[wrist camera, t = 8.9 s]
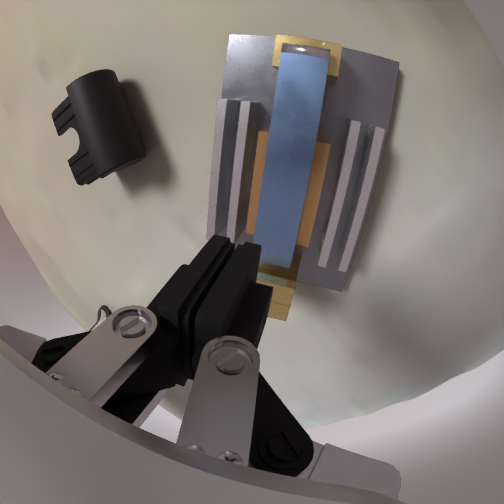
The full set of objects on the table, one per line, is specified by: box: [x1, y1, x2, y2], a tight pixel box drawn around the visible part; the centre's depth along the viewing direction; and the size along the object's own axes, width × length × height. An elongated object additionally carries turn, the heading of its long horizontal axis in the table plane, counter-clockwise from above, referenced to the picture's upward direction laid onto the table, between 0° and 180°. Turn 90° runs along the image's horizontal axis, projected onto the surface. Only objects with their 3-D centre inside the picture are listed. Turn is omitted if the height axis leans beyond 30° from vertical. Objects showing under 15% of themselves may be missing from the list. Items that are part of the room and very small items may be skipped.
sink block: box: [206, 35, 399, 321], centre depth 21 cm, size 22×14×9 cm, turn 173°
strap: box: [253, 42, 331, 269], centre depth 18 cm, size 16×3×1 cm, turn 173°
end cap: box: [52, 69, 147, 185], centre depth 24 cm, size 10×7×7 cm
